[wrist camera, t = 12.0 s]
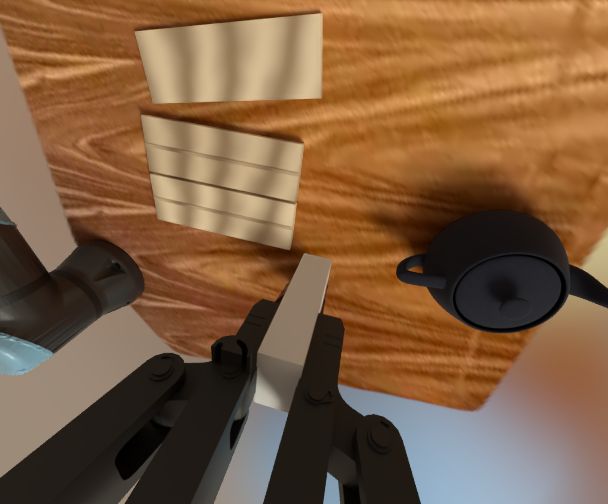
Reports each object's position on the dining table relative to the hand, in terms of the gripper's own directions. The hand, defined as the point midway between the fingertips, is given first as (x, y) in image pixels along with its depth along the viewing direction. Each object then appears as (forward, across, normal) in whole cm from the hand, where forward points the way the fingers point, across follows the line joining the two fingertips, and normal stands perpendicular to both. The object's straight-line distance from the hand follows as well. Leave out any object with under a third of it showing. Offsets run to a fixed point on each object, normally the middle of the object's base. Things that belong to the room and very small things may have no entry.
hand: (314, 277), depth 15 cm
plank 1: (+27, -18, +10) cm, 34 cm away
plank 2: (+27, -19, -10) cm, 34 cm away
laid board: (+26, -19, -2) cm, 33 cm away
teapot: (+27, +21, -8) cm, 35 cm away
